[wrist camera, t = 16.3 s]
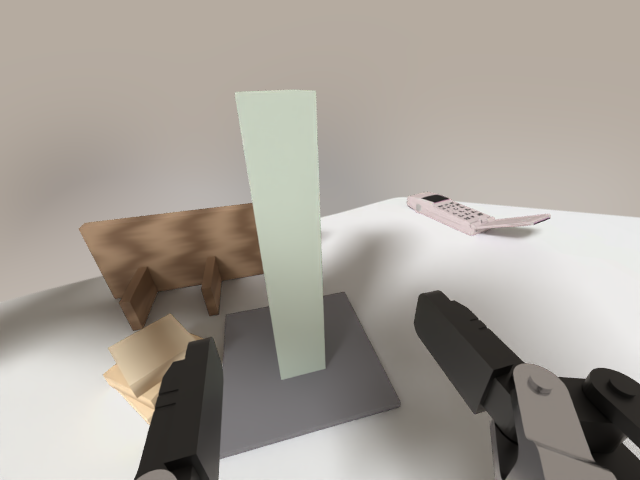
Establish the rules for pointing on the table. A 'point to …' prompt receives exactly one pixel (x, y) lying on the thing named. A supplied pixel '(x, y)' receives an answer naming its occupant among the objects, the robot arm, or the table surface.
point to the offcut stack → (147, 362)
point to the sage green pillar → (287, 219)
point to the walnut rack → (174, 254)
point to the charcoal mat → (297, 380)
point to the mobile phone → (464, 214)
